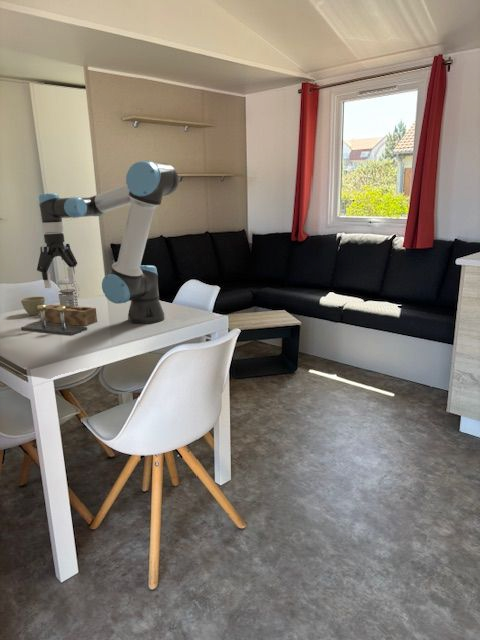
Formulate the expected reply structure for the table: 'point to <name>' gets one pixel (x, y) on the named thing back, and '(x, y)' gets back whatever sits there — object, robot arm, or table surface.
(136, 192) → the robot arm
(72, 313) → the wooden compartment box
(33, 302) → the flower pot
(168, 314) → the table surface
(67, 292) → the french press
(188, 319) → the table surface
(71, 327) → the rail
